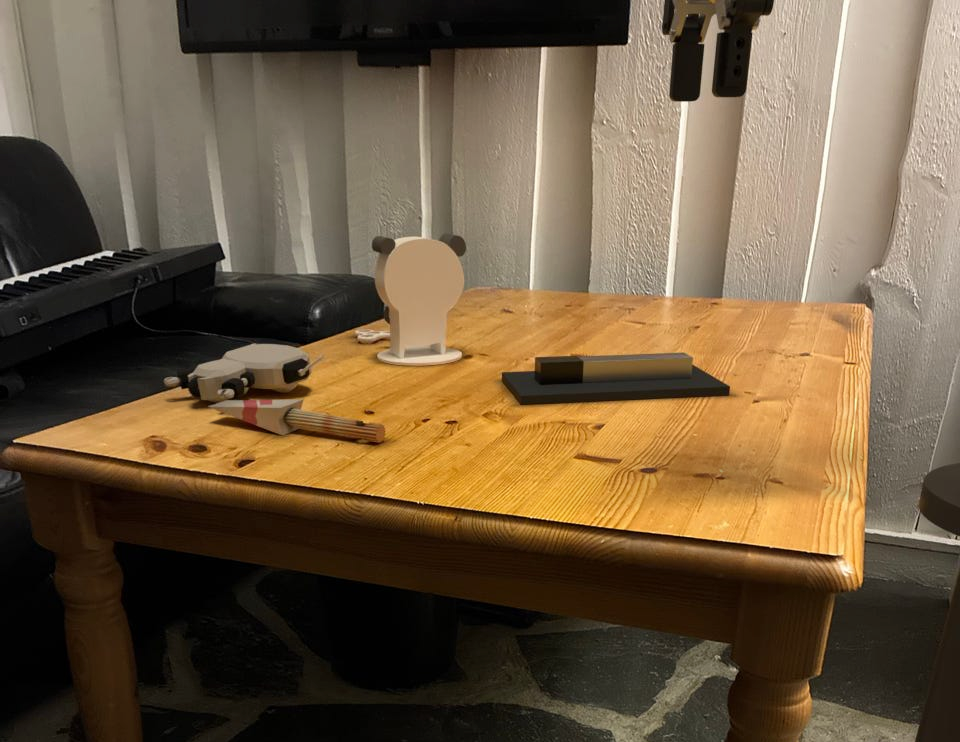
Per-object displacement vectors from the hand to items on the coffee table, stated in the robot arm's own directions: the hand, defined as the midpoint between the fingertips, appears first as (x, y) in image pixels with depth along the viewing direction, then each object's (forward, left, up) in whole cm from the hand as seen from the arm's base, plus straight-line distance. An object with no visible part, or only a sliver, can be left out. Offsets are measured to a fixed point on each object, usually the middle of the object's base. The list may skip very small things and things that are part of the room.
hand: (705, 99), depth 68 cm
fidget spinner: (+21, -68, -28) cm, 77 cm away
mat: (-4, -32, -28) cm, 43 cm away
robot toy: (+38, -36, -28) cm, 59 cm away
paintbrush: (+32, -20, -28) cm, 47 cm away
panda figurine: (+16, -54, -28) cm, 63 cm away
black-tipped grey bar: (-4, -32, -27) cm, 42 cm away
